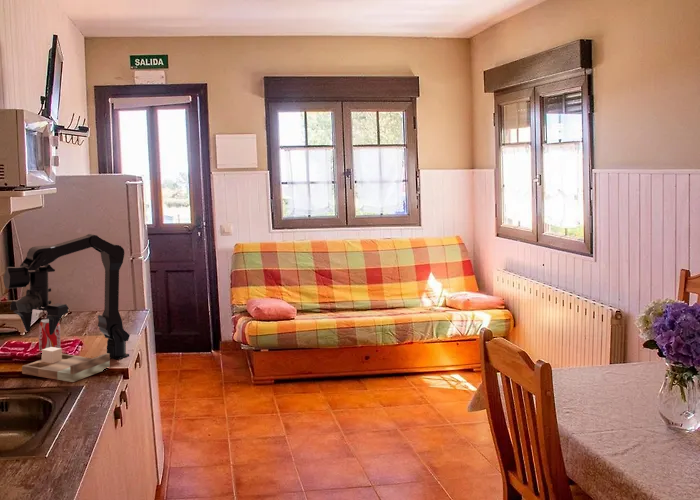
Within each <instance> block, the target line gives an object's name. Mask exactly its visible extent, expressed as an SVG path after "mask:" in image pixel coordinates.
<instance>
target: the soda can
mask: <svg viewBox="0 0 700 500" xmlns="http://www.w3.org/2000/svg"><path fill="white" fill-rule="evenodd" d="M49 347H55V348H61V324H60V321H59V322H58V324H57V326H56V328H55V331H54V333H53V334H52V335H50V333H49V319H48V318H44V319H43V318H42V319H41V320H40V322H39V325H38V348H39V349H38V351H39V352H40V351H42V349H46V348H49Z"/></svg>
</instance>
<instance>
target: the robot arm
mask: <svg viewBox="0 0 700 500" xmlns="http://www.w3.org/2000/svg"><path fill="white" fill-rule="evenodd" d="M90 248H92V249H94V250H95V251H96V252H98V253H100V258H101V262H102V265H103V268H104V309H103V312H102V314H98V315H97V321H98V323H97V327H98V328H99V331H100V332H101V333H102V334H103V335H104V338H106V339H107V341H106V343H107V344H106V353H110V359H112V360H113V359H115V360H121V359H123V358H127V357H129V356H130V353H127V352H126V349H127V348H126V347H127V344H126V343H127V342H128V341H129V340H130V336H131V335H130V334H129V333H128V331H126V330H125V329H124V325H123V319H122V316H121V315H120V314H121V313H120V311H119V309H120V308H119V302H120V301H119V300H120V298H119V296H120V294H119V293H120V270H121V267H122V265H123V263H124V258H125V249H124V248H123V247H122V245H119V244H117V243H116V244H115V243H112V242H109V241H107V240H104V239H103V238H101V237H99V236H98V235H97V234H92V233H88V234H86V235H83V236H80V237H77V238H74V239H70V240H67V241H62V242H60V243H55V244H51V245H49V244H47V245H37V246H32V247H30V248H29V249H28V251H27V252H26V256H25V258H24V259H23V261H22V262H21V263H20V265H19V266H6V267H5V269H6V270H5V272H4V275H3V277H2V279H3V285H4V287H5V289H6V290H7V289H8V290H9V289H18V288H19V289H20V288H26V287H27V286H28V285H29V289H26V291H25V296H22V297H21V298H19V299H16V300H12V301H11V303H10V304H9V305H10V307H9V309H10V311H13V313H14V314H17V315H18V316H19V318H20V319H21V321H22V324H23V327H24V329H25V332H27V333H29V332H30V330H31V326H32V319H33V310H35V311H36V310H37V311H44V312H46V313H47V315H46V317H47V318H46V319H49V333H50V335H52V334H53V333H54V331H55V328H56V326H57V324H58V322H59V323H60V320H61V319H62V317H63V316H65V315H66V314H67V313H69V306H68V304H66V303H61V302H60V303H59V302H57V303H54V304H52V300H49V293H50V292H52V288H51V287H49V273H55V271H56V269H55V268H54V267H52V266H51V265H50V264H51V263H53V262H55V261H56V260H57V259H59V258H61V257H64V256H67V255H70V254H74V253H77V252H80V251H83V250H86V249H90Z"/></svg>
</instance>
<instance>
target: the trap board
mask: <svg viewBox="0 0 700 500" xmlns="http://www.w3.org/2000/svg"><path fill="white" fill-rule="evenodd" d="M110 359H111V358H110V353H107V352H106V353H104V354H100V355H98V356H96V357H88V356H82V355H81V356H80V355H74V354H68V353H62V360H61V361H58V362H55V363H47V362H42V359H39V360H36V361H33V362H30V363H27V364H24V365H22V366H21V374H23V375H29V376H35V377H40V378H47V379H53V380H56V381H57V380H58V381H59V380H60V381H64V382H71V383H75V382H77V381H81V380H82V379H85V378H88V377H90V376H93V375H96V374H98V373H101V372H104V371H105V370H104V369H105V368H107V367H111V365H110V363H111V362H110V361H111V360H110ZM103 370H104V371H103Z"/></svg>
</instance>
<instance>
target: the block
mask: <svg viewBox="0 0 700 500" xmlns="http://www.w3.org/2000/svg"><path fill="white" fill-rule="evenodd" d="M62 352H63V348H62V347H60V348H55V347H49V348H46V349H42V354H41V360H42V362H47V363H55V362H58V361H61V360H62V354H63V353H62Z"/></svg>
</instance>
